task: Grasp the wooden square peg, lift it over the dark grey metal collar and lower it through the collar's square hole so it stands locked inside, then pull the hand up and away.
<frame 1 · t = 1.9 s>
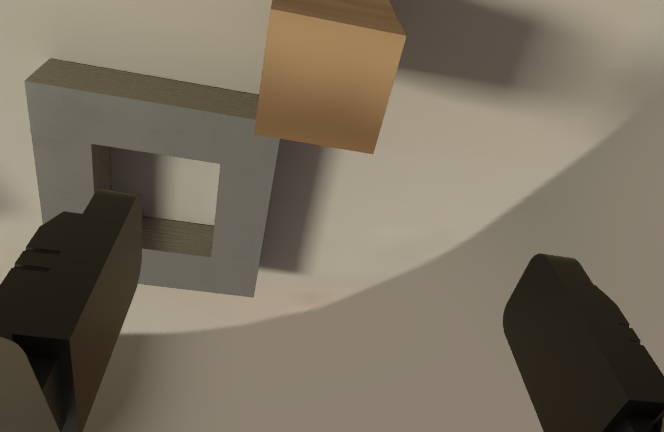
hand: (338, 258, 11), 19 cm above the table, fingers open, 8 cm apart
wooden square peg: (320, 8, 26), on the table
collar: (167, 176, 31), on the table
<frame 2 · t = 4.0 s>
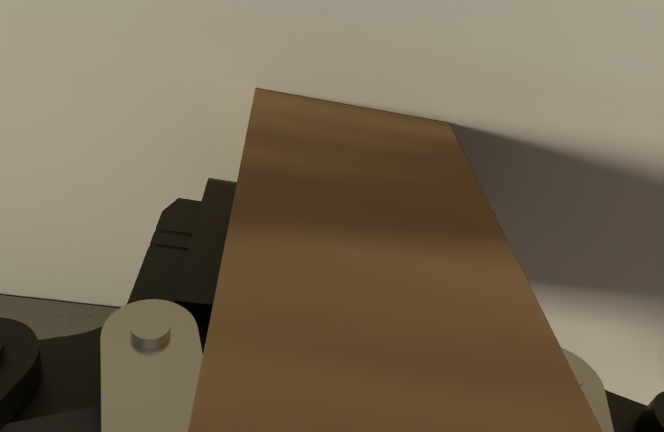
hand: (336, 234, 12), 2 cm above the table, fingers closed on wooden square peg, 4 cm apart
wooden square peg: (334, 188, 13), on the table, touching gripper
collar: (66, 426, 18), on the table
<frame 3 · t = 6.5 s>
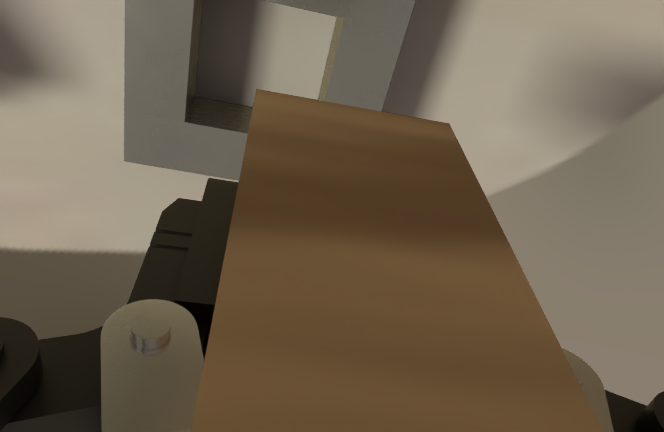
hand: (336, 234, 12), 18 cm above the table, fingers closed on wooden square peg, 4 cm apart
wooden square peg: (335, 189, 13), point 16 cm above the table, touching gripper
collar: (264, 50, 27), on the table
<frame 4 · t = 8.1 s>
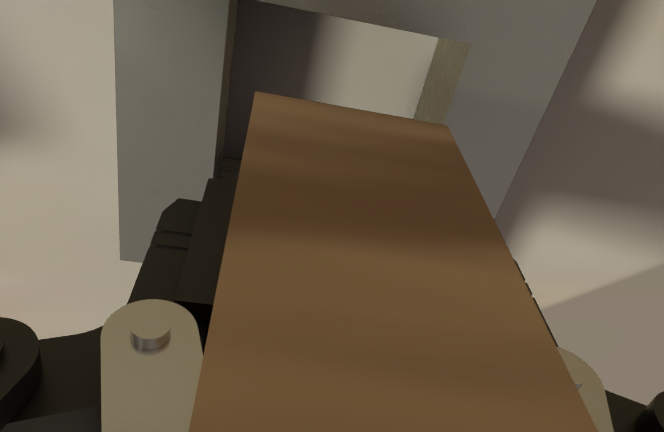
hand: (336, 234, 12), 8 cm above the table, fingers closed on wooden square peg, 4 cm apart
wooden square peg: (333, 190, 13), point 6 cm above the table, touching gripper
collar: (326, 90, 18), on the table
when the fingers open (4 cm above the table, at t = 9.2 s): wooden square peg drops 2 cm, resting in collar.
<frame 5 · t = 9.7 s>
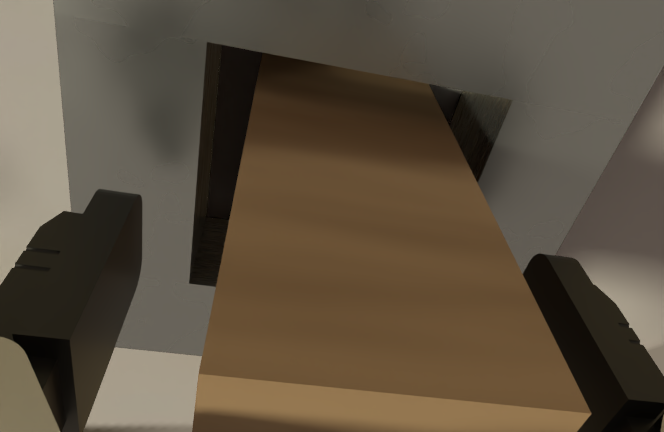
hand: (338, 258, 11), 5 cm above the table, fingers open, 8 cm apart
wooden square peg: (329, 141, 15), resting in collar
collar: (329, 142, 15), on the table
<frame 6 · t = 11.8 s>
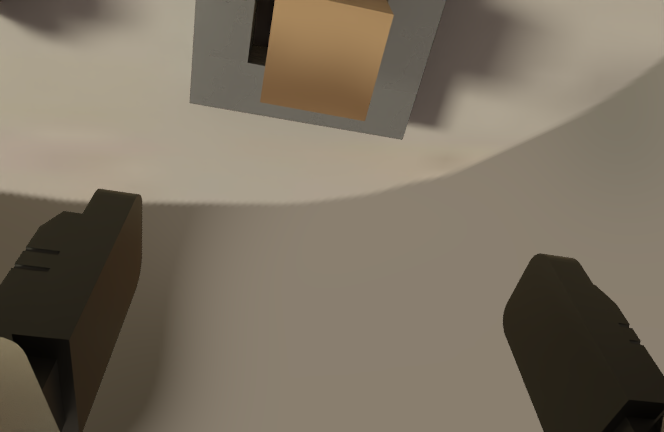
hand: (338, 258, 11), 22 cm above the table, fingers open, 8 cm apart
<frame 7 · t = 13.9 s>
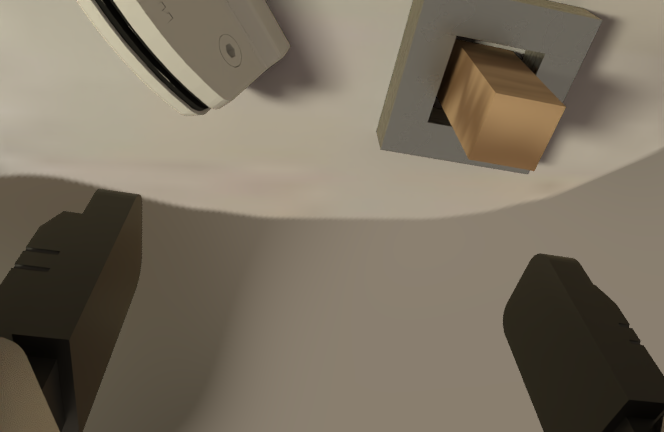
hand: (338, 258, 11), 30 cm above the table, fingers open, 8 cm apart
wooden square peg: (473, 73, 40), resting in collar
collar: (473, 73, 40), on the table
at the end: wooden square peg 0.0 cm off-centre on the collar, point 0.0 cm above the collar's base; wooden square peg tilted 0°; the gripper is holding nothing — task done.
